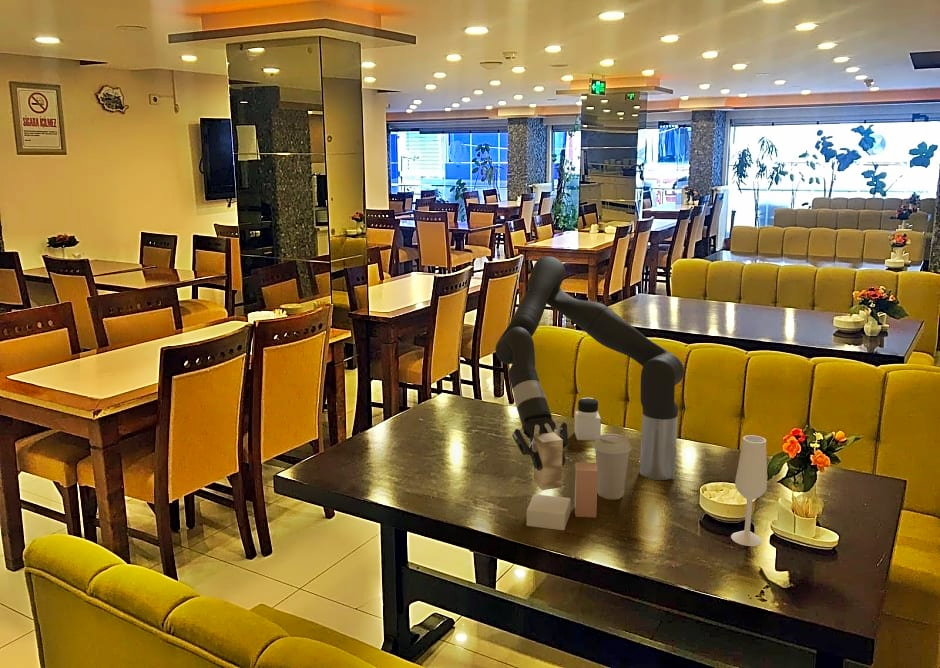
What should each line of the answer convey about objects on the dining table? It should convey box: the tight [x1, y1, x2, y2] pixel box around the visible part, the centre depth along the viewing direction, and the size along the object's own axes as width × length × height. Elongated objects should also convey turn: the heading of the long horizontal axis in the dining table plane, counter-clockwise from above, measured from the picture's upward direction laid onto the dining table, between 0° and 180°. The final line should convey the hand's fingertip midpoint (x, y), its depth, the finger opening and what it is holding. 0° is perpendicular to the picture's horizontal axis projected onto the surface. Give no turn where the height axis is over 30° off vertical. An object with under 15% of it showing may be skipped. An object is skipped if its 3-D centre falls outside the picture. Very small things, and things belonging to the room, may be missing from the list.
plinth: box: [526, 493, 571, 531], centre depth 183 cm, size 9×9×4 cm
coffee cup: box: [592, 433, 632, 500], centre depth 195 cm, size 10×10×15 cm
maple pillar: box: [532, 431, 564, 491], centre depth 181 cm, size 5×5×12 cm
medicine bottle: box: [573, 397, 602, 441], centre depth 236 cm, size 7×7×12 cm
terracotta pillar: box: [574, 461, 598, 518], centre depth 186 cm, size 5×5×12 cm
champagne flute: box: [730, 434, 768, 547], centre depth 171 cm, size 7×7×24 cm
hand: (551, 467), depth 179 cm, fingers closed on maple pillar, 5 cm apart
